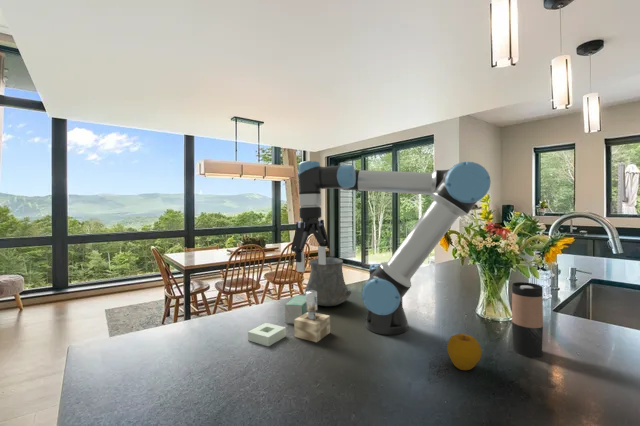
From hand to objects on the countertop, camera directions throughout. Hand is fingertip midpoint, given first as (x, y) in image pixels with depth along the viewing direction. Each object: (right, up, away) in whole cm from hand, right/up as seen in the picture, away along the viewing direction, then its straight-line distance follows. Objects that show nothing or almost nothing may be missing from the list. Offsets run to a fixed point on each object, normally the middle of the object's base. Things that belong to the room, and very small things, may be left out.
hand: (312, 268), depth 107 cm
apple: (+42, -23, -23) cm, 53 cm away
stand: (-15, -24, -1) cm, 28 cm away
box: (-5, -23, +18) cm, 30 cm away
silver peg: (0, -22, +1) cm, 22 cm away
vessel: (+7, -23, +34) cm, 42 cm away
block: (0, -23, +1) cm, 23 cm away
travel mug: (+65, -23, -15) cm, 70 cm away
